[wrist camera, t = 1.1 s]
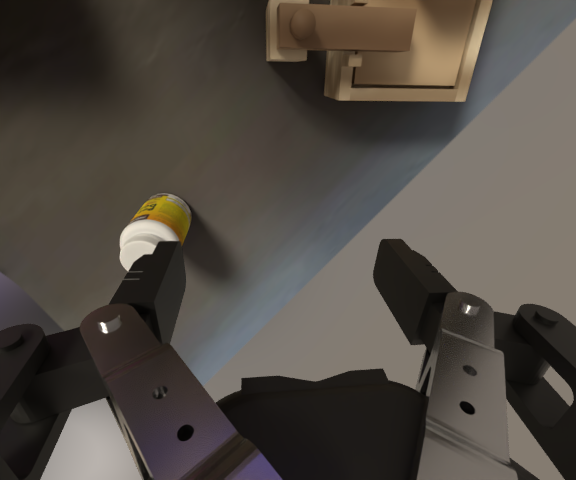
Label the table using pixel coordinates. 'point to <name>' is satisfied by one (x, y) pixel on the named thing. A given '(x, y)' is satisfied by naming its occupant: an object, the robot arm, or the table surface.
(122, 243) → the supplement bottle
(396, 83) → the lid
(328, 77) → the wooden box
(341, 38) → the brown wooden bar
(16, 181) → the table surface
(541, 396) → the robot arm
